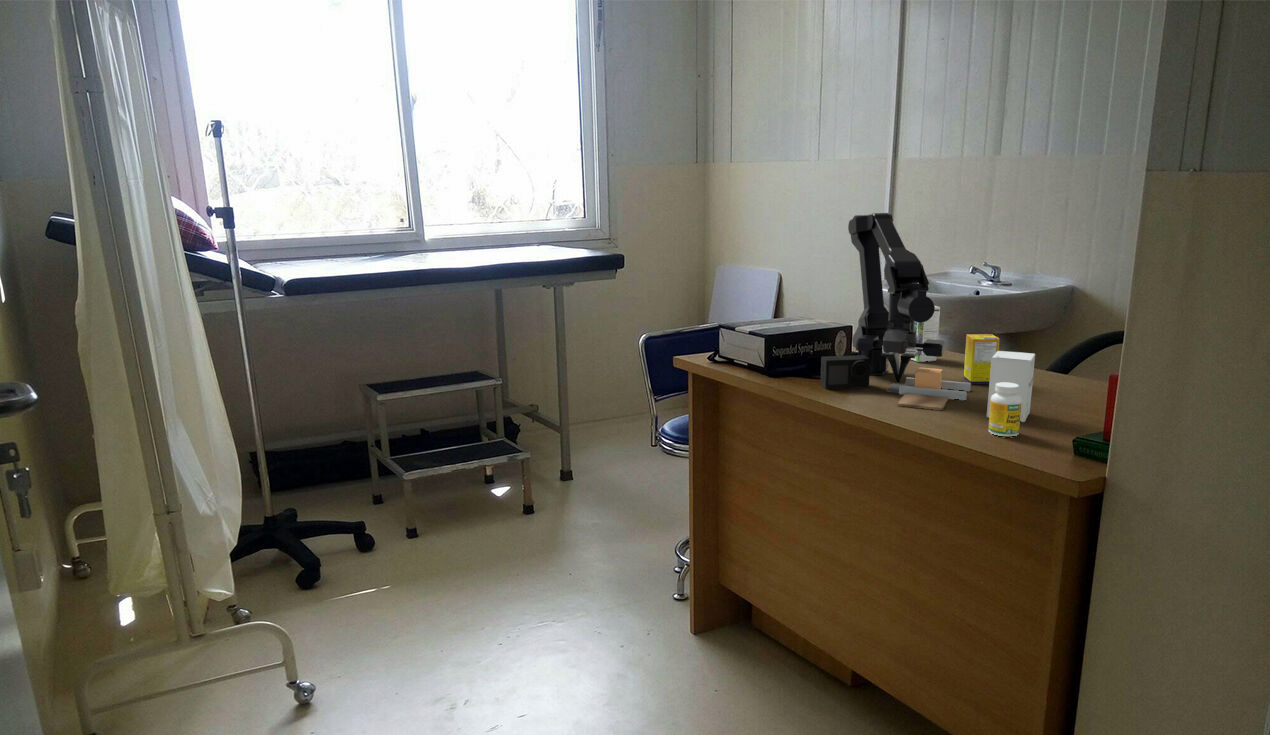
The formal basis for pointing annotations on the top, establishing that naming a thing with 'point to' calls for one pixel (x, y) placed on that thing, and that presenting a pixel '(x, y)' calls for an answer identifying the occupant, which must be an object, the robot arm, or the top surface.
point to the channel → (938, 392)
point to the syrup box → (927, 334)
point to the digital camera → (845, 372)
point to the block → (928, 378)
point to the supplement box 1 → (979, 357)
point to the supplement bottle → (1005, 410)
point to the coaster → (923, 401)
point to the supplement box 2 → (1013, 376)
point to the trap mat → (896, 387)
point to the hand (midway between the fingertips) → (898, 382)
